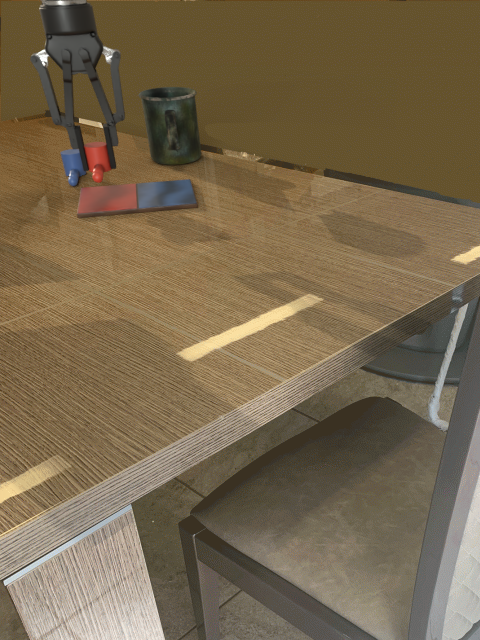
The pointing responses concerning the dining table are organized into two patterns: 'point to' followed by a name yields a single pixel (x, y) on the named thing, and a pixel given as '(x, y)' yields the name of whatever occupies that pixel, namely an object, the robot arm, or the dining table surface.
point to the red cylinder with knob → (97, 159)
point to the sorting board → (136, 198)
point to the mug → (171, 124)
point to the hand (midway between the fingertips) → (100, 167)
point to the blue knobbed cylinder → (72, 165)
